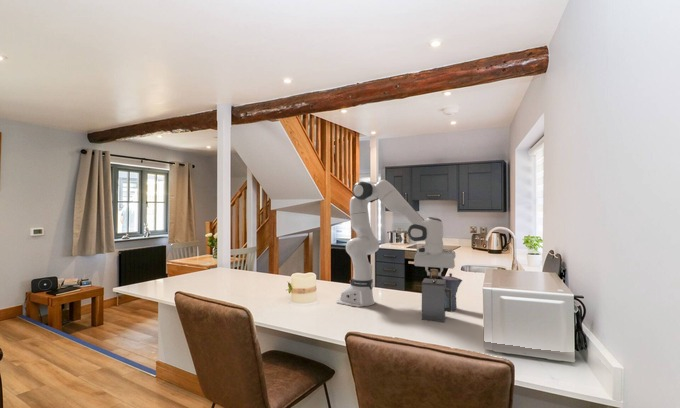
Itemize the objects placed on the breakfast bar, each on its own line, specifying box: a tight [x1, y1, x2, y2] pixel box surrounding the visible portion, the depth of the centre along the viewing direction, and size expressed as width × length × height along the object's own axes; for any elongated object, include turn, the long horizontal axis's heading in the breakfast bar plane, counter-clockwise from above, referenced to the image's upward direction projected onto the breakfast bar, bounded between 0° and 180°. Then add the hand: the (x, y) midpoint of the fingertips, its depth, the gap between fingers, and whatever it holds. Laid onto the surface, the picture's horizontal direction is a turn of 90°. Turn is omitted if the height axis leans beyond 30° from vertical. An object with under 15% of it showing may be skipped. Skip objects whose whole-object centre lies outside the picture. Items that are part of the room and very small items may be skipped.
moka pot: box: [435, 272, 463, 312], centre depth 198 cm, size 10×15×20 cm, turn 78°
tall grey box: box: [421, 277, 452, 323], centre depth 181 cm, size 14×11×19 cm
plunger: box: [429, 268, 439, 282], centre depth 181 cm, size 8×8×23 cm
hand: (434, 275), depth 181 cm, fingers closed on plunger, 4 cm apart
